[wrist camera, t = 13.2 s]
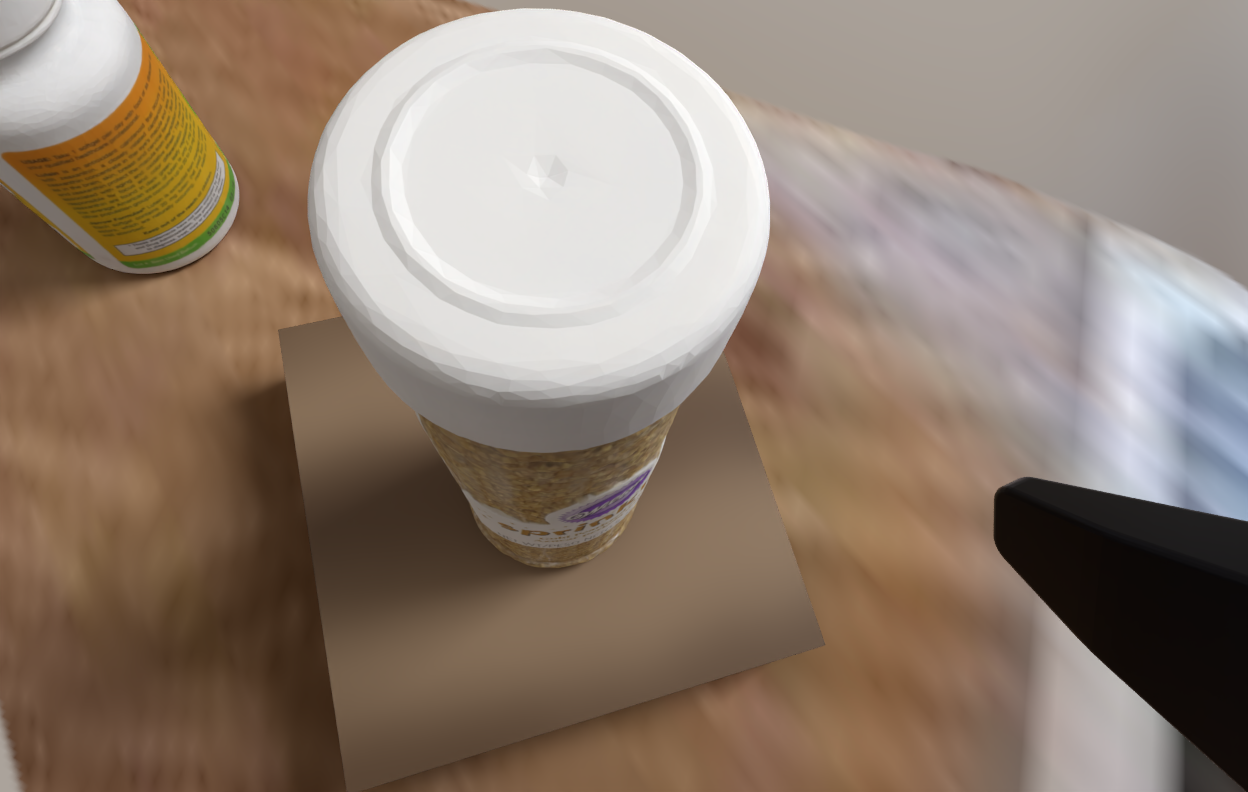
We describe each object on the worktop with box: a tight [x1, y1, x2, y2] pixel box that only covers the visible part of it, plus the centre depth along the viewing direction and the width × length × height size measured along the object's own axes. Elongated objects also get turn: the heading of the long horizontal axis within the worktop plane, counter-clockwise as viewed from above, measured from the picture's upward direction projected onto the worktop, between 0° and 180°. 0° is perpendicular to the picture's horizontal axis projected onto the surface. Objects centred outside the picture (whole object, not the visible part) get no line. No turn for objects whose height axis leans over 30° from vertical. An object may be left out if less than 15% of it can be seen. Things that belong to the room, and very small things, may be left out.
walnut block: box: [278, 316, 825, 792], centre depth 21 cm, size 12×12×3 cm
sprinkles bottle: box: [308, 8, 770, 568], centre depth 13 cm, size 5×5×14 cm
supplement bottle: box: [0, 0, 239, 274], centre depth 20 cm, size 5×5×10 cm
